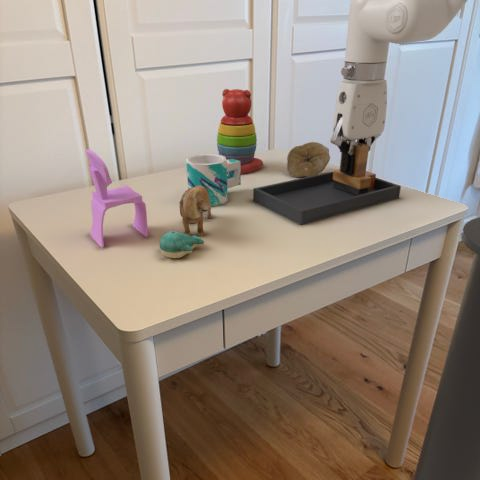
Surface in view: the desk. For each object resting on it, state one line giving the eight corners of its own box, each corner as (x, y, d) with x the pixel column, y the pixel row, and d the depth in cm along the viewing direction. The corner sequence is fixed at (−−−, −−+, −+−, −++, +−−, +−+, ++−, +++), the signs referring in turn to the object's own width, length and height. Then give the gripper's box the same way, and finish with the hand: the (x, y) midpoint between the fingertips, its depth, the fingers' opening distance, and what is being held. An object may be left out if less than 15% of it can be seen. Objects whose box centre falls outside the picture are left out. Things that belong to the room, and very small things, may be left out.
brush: (369, 194, 101) (375, 146, 96) (358, 196, 100) (364, 148, 95) (342, 184, 107) (347, 138, 102) (331, 186, 106) (336, 140, 101)
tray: (346, 179, 112) (347, 167, 111) (399, 198, 101) (401, 185, 100) (253, 201, 101) (253, 188, 99) (300, 225, 90) (301, 211, 88)
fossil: (285, 145, 116) (328, 136, 113) (289, 155, 120) (330, 148, 117) (286, 178, 113) (330, 171, 111) (290, 188, 117) (332, 181, 115)
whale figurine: (154, 251, 81) (151, 229, 79) (193, 240, 84) (191, 219, 82) (170, 264, 77) (168, 241, 75) (210, 252, 80) (209, 230, 78)
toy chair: (153, 238, 85) (143, 149, 77) (104, 250, 81) (87, 157, 73) (135, 223, 91) (123, 139, 83) (88, 233, 87) (71, 146, 79)
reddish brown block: (374, 188, 105) (376, 174, 103) (360, 191, 103) (362, 176, 101) (360, 183, 108) (362, 169, 106) (347, 186, 106) (348, 172, 104)
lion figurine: (212, 244, 83) (210, 191, 78) (180, 245, 83) (176, 192, 78) (212, 212, 95) (210, 165, 90) (184, 213, 95) (181, 166, 90)
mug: (180, 199, 102) (177, 158, 97) (223, 186, 109) (222, 147, 104) (206, 209, 97) (204, 166, 92) (250, 195, 104) (250, 154, 99)
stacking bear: (265, 165, 122) (266, 86, 113) (251, 176, 115) (251, 93, 105) (225, 161, 126) (223, 84, 116) (209, 172, 118) (205, 91, 108)
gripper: (345, 78, 85) (335, 183, 95) (409, 71, 92) (393, 169, 102) (317, 73, 90) (310, 174, 100) (379, 67, 98) (367, 161, 108)
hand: (352, 171), depth 101 cm, fingers closed on brush, 2 cm apart
